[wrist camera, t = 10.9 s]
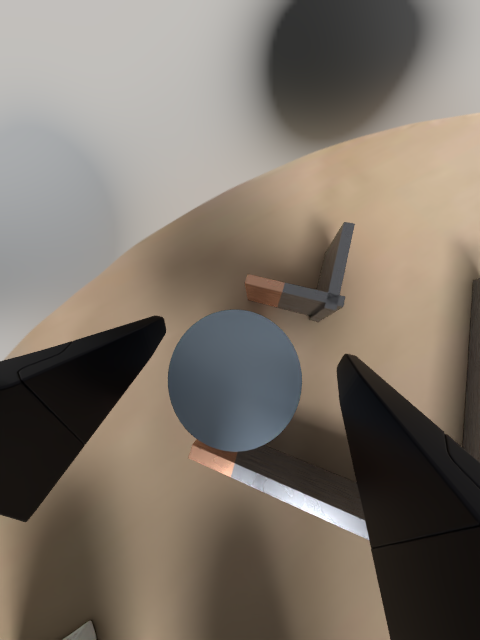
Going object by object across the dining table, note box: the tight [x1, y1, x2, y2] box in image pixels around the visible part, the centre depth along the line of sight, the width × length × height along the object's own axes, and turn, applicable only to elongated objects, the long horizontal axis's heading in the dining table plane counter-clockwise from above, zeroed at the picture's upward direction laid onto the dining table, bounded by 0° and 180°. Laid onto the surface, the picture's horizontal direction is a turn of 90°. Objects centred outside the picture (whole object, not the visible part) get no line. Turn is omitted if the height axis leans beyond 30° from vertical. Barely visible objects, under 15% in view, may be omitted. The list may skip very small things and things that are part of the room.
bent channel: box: [188, 222, 480, 540], centre depth 13 cm, size 20×20×4 cm
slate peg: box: [168, 310, 302, 452], centre depth 11 cm, size 5×5×10 cm
